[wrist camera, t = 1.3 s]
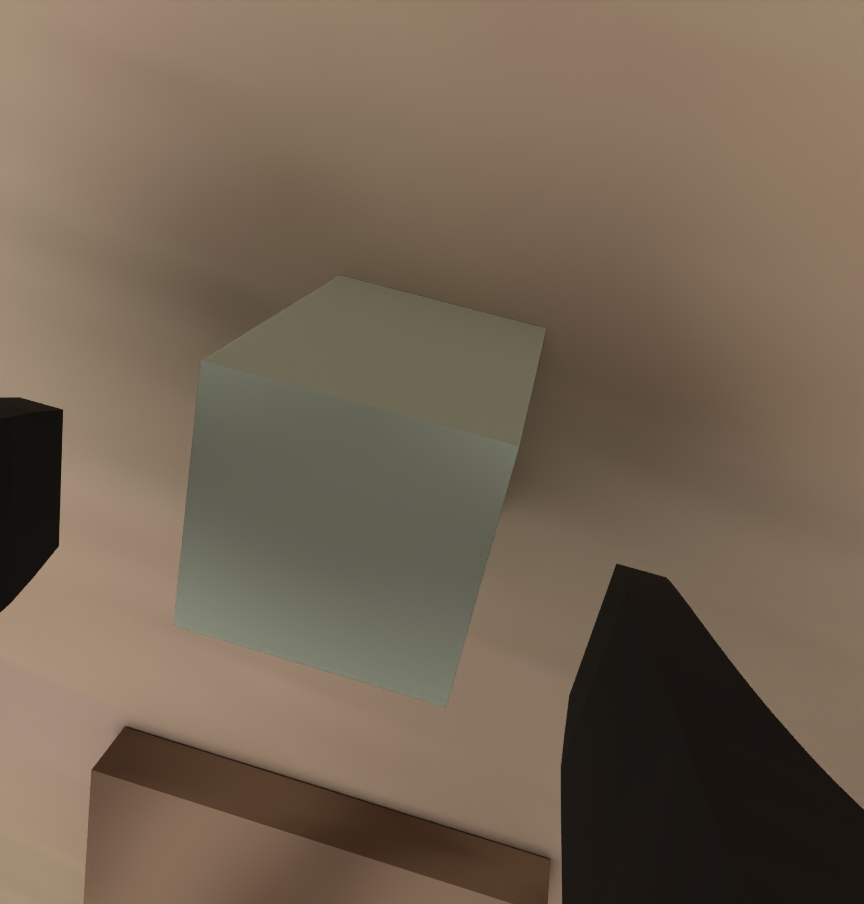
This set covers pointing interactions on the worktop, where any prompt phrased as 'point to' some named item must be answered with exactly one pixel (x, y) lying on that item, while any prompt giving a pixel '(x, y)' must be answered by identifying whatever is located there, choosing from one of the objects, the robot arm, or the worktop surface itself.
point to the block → (354, 481)
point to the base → (274, 840)
